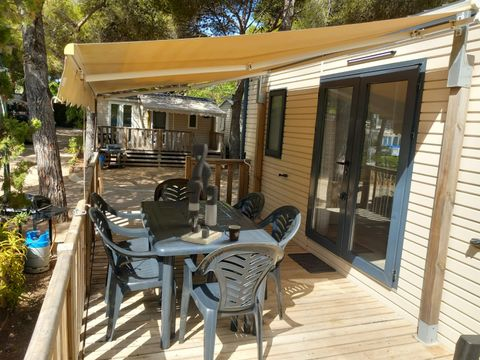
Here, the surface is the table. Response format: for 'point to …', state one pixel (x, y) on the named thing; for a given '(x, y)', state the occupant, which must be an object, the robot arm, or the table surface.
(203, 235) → the slider
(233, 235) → the coffee mug
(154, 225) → the table surface
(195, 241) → the switch panel
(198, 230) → the slider
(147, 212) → the table surface
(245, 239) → the table surface
